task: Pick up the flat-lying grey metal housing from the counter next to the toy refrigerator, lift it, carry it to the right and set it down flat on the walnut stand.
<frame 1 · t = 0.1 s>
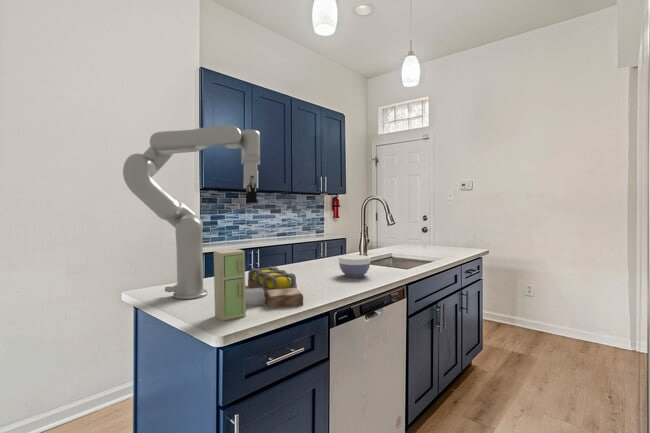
hand: (251, 202, 143), 37 cm above the table, tool pointing down, fingers open, 9 cm apart
stand: (283, 302, 126), on the table
cage light: (271, 290, 146), on the table
bowl: (354, 276, 174), on the table
toy refrigerator: (230, 317, 110), on the table
housing: (249, 304, 125), on the table
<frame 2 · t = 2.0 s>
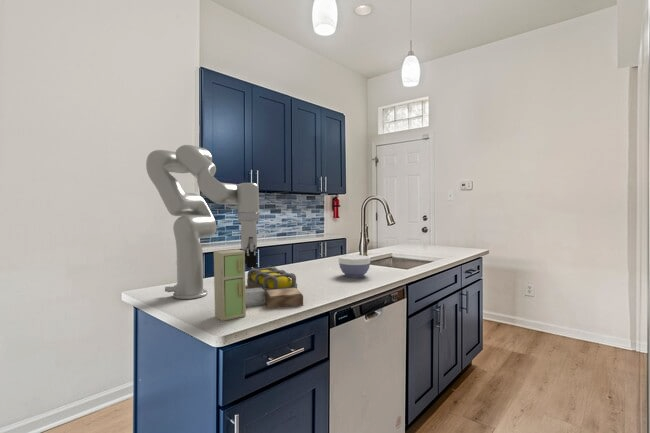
hand: (250, 265, 124), 14 cm above the table, tool pointing down, fingers open, 9 cm apart
nothing on the table moved.
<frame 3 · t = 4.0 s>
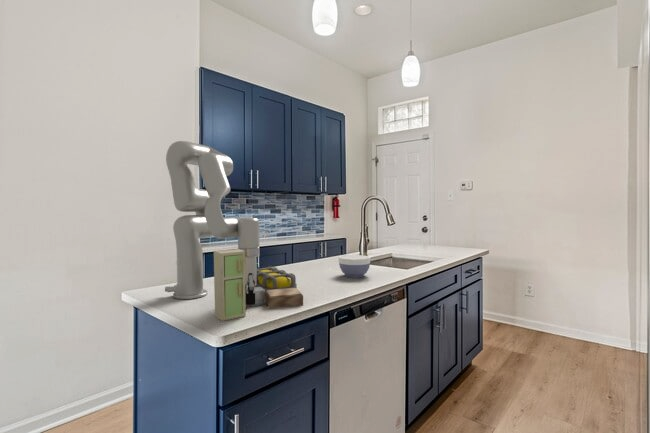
hand: (249, 301, 125), 1 cm above the table, tool pointing down, fingers closed on housing, 6 cm apart
housing: (249, 303, 125), on the table, touching gripper
everything else where it was.
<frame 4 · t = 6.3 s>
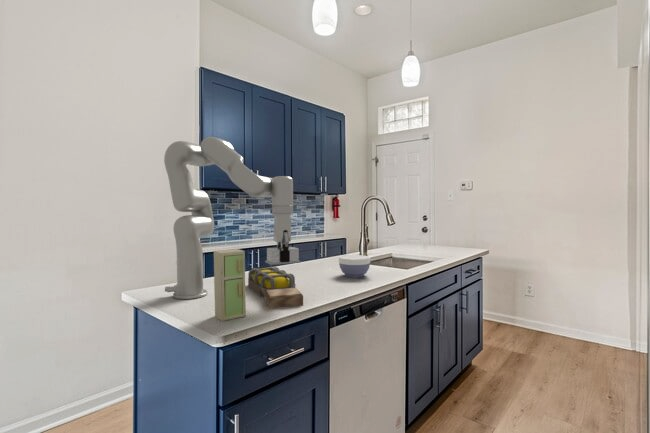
hand: (283, 260, 125), 16 cm above the table, tool pointing down, fingers closed on housing, 6 cm apart
housing: (282, 262, 125), point 15 cm above the table, touching gripper
everything else where it was.
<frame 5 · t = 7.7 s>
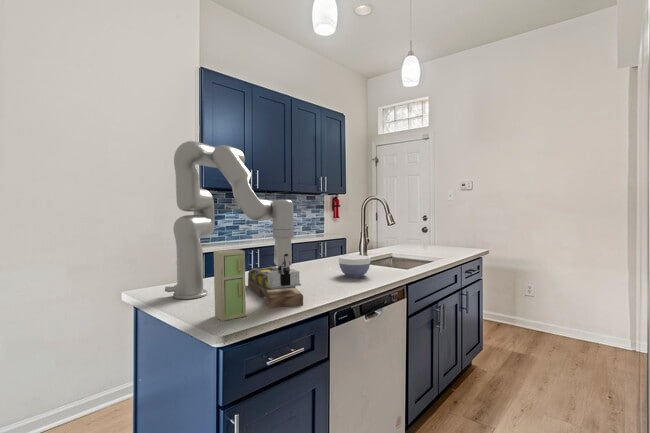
hand: (283, 282, 125), 7 cm above the table, tool pointing down, fingers closed on housing, 6 cm apart
housing: (283, 285, 125), point 6 cm above the table, touching gripper
everything else where it was.
when the fingers open (6 cm above the table, at t = 9.0 s): housing stays where it is, resting on stand.
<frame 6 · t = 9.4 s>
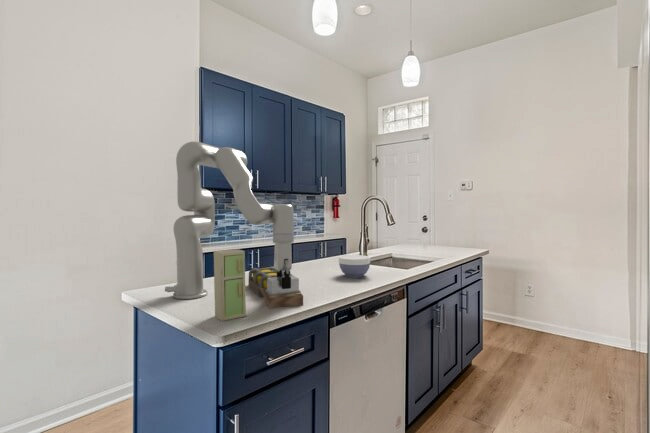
hand: (283, 285, 126), 6 cm above the table, tool pointing down, fingers open, 9 cm apart
housing: (282, 291, 126), point 4 cm above the table, touching stand
everything else where it was.
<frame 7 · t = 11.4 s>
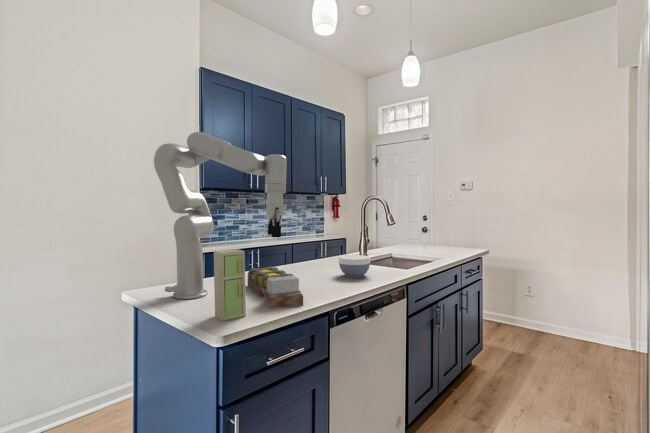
hand: (274, 235, 127), 24 cm above the table, tool pointing down, fingers open, 9 cm apart
nothing on the table moved.
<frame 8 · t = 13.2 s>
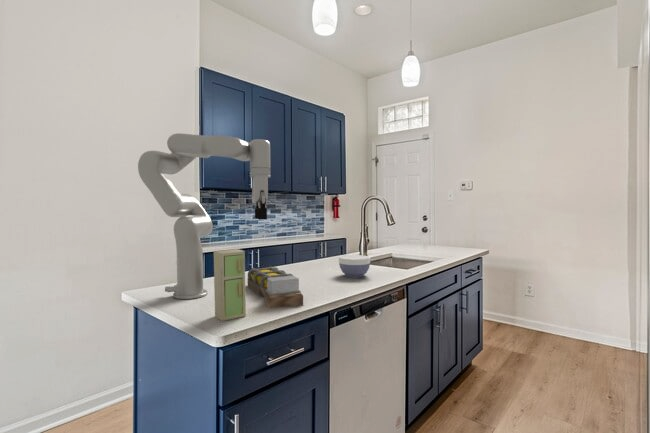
hand: (260, 218, 130), 30 cm above the table, tool pointing down, fingers open, 9 cm apart
nothing on the table moved.
at the end: housing inside the target area on the stand (0.3 cm from its centre), point 4.0 cm above the stand's base; housing tilted 0°; the gripper is holding nothing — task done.
